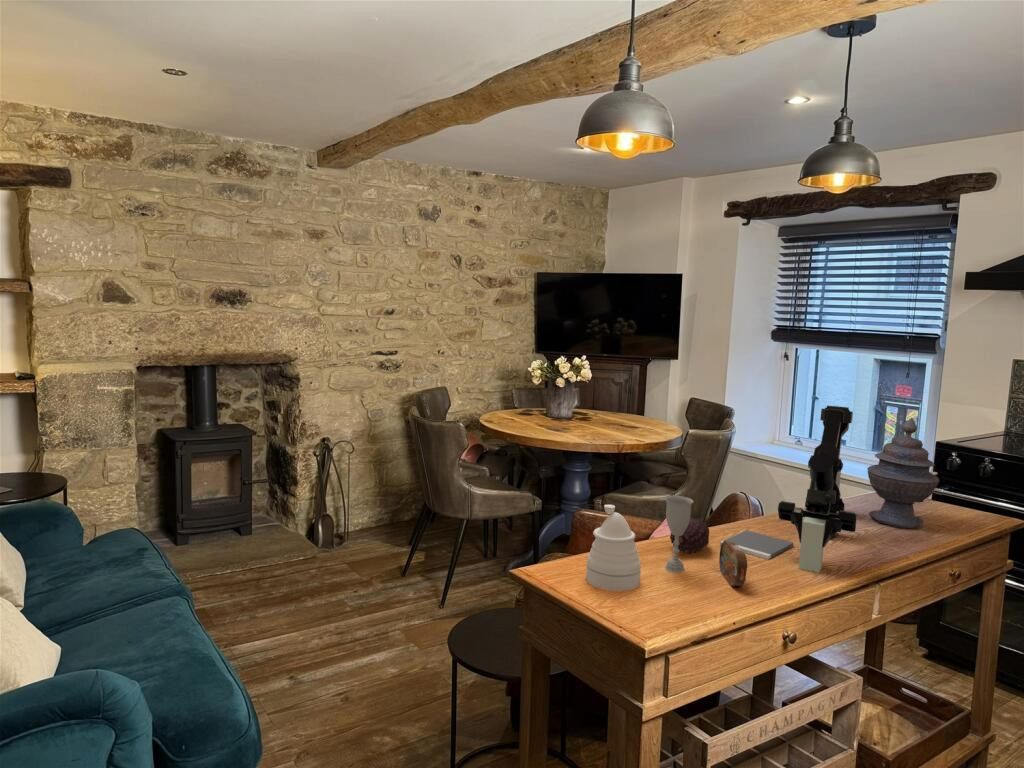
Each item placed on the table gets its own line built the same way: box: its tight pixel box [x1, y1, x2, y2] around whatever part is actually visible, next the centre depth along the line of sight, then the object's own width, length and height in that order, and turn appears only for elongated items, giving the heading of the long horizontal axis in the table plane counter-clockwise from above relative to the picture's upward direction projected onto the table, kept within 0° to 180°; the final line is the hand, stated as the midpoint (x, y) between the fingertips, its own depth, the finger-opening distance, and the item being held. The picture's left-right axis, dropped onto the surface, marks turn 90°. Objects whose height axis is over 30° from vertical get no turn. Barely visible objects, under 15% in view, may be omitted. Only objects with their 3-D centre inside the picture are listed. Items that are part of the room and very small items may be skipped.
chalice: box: [664, 495, 694, 574], centre depth 177 cm, size 7×7×18 cm
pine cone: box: [669, 516, 710, 555], centre depth 192 cm, size 18×10×10 cm
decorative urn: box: [867, 417, 940, 529], centre depth 222 cm, size 20×20×34 cm
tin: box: [718, 540, 748, 587], centre depth 172 cm, size 15×3×8 cm, turn 178°
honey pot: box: [585, 504, 642, 592], centre depth 169 cm, size 13×13×18 cm
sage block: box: [798, 517, 826, 574], centre depth 182 cm, size 5×5×12 cm
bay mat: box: [719, 529, 794, 560], centre depth 198 cm, size 16×14×1 cm
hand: (811, 544), depth 180 cm, fingers closed on sage block, 5 cm apart
